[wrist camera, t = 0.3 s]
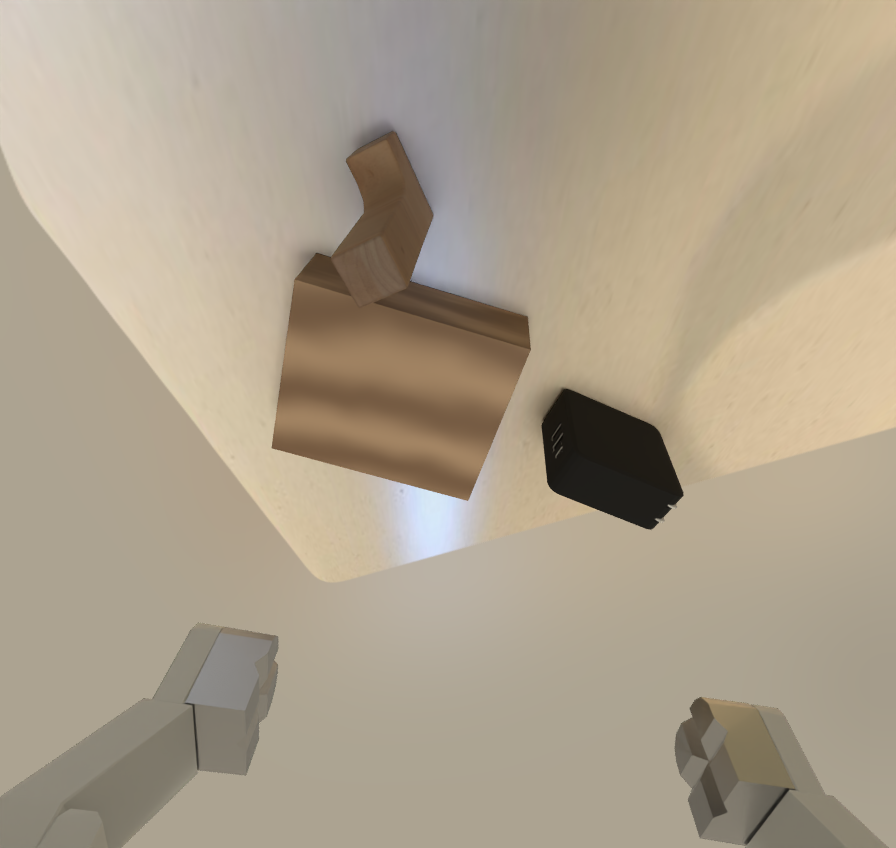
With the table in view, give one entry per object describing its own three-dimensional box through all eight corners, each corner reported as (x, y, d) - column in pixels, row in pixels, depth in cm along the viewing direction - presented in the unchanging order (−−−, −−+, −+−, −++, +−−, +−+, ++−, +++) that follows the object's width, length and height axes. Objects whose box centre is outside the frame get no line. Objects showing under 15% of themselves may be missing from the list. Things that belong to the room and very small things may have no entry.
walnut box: (316, 253, 47) (294, 279, 42) (527, 317, 48) (530, 349, 43) (292, 410, 56) (271, 448, 51) (470, 460, 57) (468, 500, 52)
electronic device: (563, 385, 52) (574, 453, 44) (658, 426, 54) (687, 499, 45) (540, 420, 54) (547, 490, 46) (632, 459, 56) (655, 533, 48)
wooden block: (434, 216, 44) (408, 288, 32) (397, 233, 45) (357, 310, 33) (395, 129, 41) (349, 172, 29) (355, 150, 42) (294, 200, 30)
